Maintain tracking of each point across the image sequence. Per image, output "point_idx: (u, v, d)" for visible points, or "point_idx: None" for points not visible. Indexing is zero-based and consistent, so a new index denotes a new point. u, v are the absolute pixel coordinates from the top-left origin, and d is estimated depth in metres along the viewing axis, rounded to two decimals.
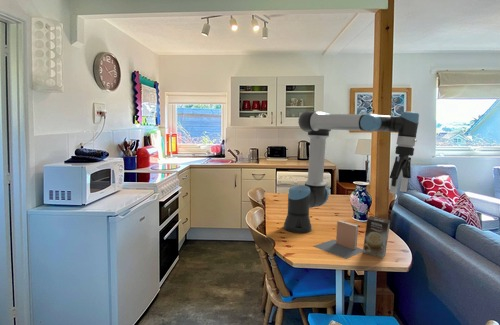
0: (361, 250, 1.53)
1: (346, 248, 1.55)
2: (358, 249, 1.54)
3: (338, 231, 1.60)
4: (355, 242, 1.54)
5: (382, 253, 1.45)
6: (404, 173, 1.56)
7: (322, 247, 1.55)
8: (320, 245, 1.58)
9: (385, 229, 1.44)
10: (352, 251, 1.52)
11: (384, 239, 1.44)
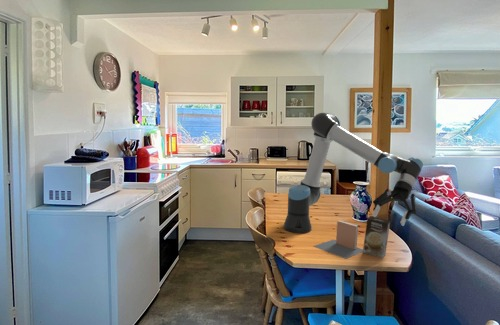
0: (361, 250, 1.53)
1: (346, 248, 1.55)
2: (358, 249, 1.54)
3: (338, 231, 1.60)
4: (355, 242, 1.54)
5: (382, 253, 1.45)
6: (382, 203, 1.60)
7: (322, 247, 1.55)
8: (320, 245, 1.58)
9: (385, 229, 1.44)
10: (352, 251, 1.52)
11: (384, 239, 1.44)
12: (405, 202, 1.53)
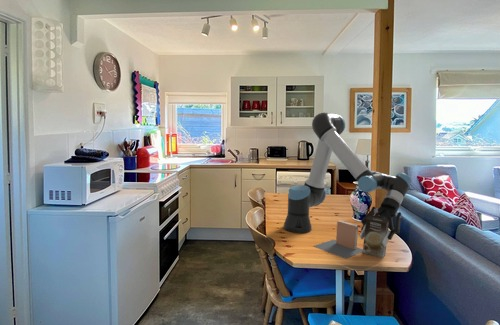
0: (361, 250, 1.53)
1: (346, 248, 1.55)
2: (358, 249, 1.54)
3: (338, 231, 1.60)
4: (355, 242, 1.54)
5: (382, 252, 1.45)
6: None
7: (322, 247, 1.55)
8: (320, 245, 1.58)
9: (384, 228, 1.44)
10: (352, 251, 1.52)
11: (383, 239, 1.44)
12: (390, 221, 1.48)
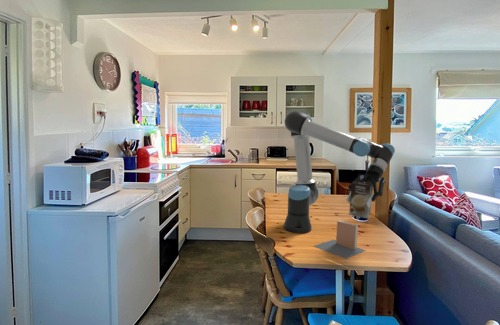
0: (361, 250, 1.53)
1: (346, 248, 1.55)
2: (358, 249, 1.54)
3: (338, 231, 1.60)
4: (355, 242, 1.54)
5: (367, 213, 1.58)
6: None
7: (322, 247, 1.55)
8: (320, 245, 1.58)
9: (368, 191, 1.57)
10: (352, 251, 1.52)
11: (367, 200, 1.58)
12: (374, 185, 1.61)
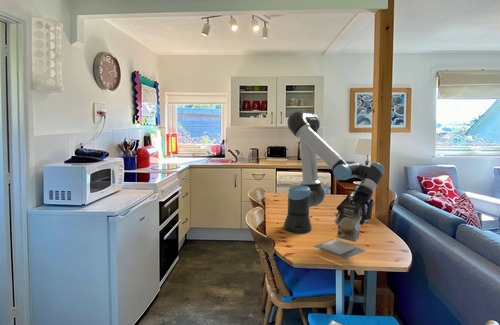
0: (361, 250, 1.53)
1: None
2: (358, 249, 1.54)
3: None
4: (350, 249, 1.52)
5: (355, 237, 1.54)
6: None
7: None
8: (320, 245, 1.58)
9: (356, 214, 1.52)
10: (352, 251, 1.52)
11: None
12: (362, 207, 1.56)
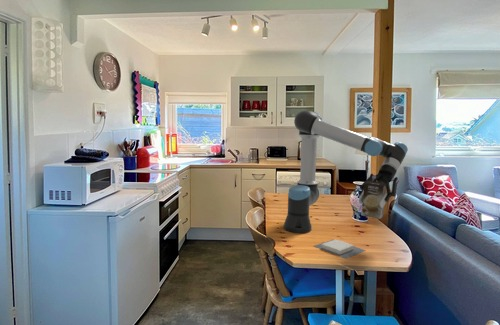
0: (361, 250, 1.53)
1: None
2: (358, 249, 1.54)
3: None
4: (350, 249, 1.52)
5: (380, 214, 1.55)
6: None
7: None
8: (320, 245, 1.58)
9: (381, 191, 1.53)
10: (352, 251, 1.52)
11: (380, 201, 1.54)
12: (387, 185, 1.58)
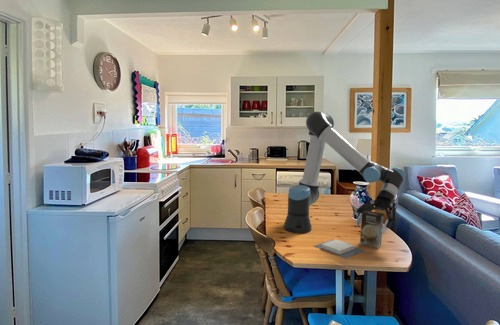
0: (361, 250, 1.53)
1: None
2: (358, 249, 1.54)
3: None
4: (350, 249, 1.52)
5: (378, 244, 1.56)
6: None
7: None
8: (320, 245, 1.58)
9: (379, 221, 1.55)
10: (352, 251, 1.52)
11: (378, 231, 1.56)
12: (386, 211, 1.59)
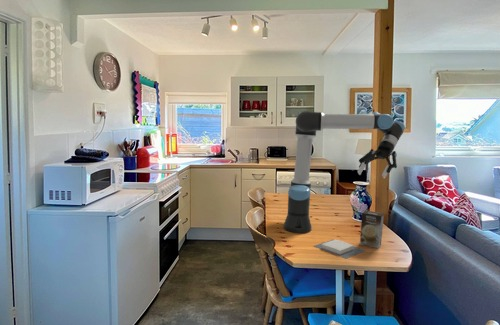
0: (361, 250, 1.53)
1: None
2: (358, 249, 1.54)
3: None
4: (350, 249, 1.52)
5: (378, 244, 1.56)
6: (367, 160, 1.77)
7: None
8: (320, 245, 1.58)
9: (379, 221, 1.55)
10: (352, 251, 1.52)
11: (378, 231, 1.56)
12: (387, 158, 1.70)
